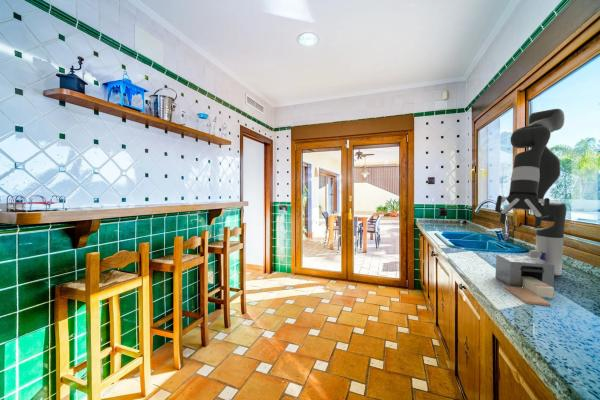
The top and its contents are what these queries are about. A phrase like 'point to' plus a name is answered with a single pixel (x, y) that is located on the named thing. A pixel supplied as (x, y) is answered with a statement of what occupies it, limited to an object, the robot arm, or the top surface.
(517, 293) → the tile
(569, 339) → the top surface
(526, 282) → the cream box
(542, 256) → the energy drink
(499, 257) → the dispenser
